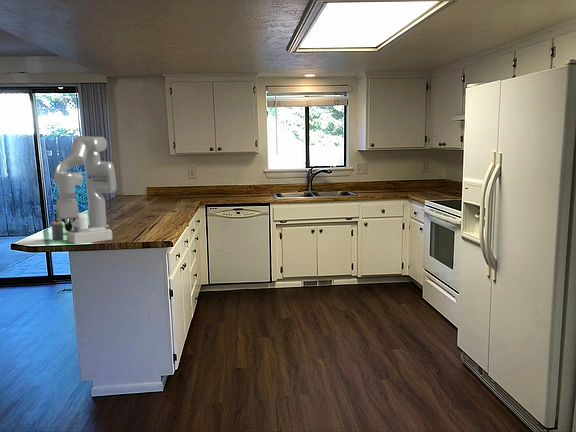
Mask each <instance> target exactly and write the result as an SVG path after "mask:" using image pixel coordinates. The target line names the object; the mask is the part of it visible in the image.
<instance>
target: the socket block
mask: <svg viewBox="0 0 576 432" xmlns="http://www.w3.org/2000/svg"><path fill="white" fill-rule="evenodd" d="M80 230H82V229H80ZM87 230H90V231H84V232H73V229H71V231H66V241H67V242H70V243H71V244H74V245H79V244H87V243H94V242H101V241H110V240H111V241H112V240H113V229H112V230H111V228H104V227H96V228H87Z"/></svg>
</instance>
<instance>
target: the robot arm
mask: <svg viewBox="0 0 576 432" xmlns="http://www.w3.org/2000/svg"><path fill="white" fill-rule="evenodd" d="M107 145H108V143H107V139H106V138H105V137H104V136H91V135H89V136H87V135H86V136H85V135H84V136H81V135H80V136H77V137H76V138H74V139H73V142H72V144H71V148H70V151H69V155H68V156H67V157H66V158H64V159H63V160H61V161H60V162H59V163H58V164H57V166H56V168H55V171H54V175H53V182H54V184H55V185H56V186H58V199H57V200H56V211H55V213H56V215H55V216H56V218H57V220H58V221H60V222H62V223H64V229H65V231H66V232H68V231H71V230H73V222H74V221H75V220H77V219H79V213H80V212H79V206H78V205H79V204H78V201H77V198H76V197H78V196H79V195H78V193H75V192H76V191H75V187H78V186H81V185H82V184H84V183H83V182H84V176H83V174H82V173H80V172H78V171H70V169H73V168H76V167H77V168H78V167H79V166H82V165H83V164H85V165H86V171H87V175H89V177H92V178H88V179H87V181H86V188H87V194H88V203H89V204H88V206H89V224H88V228H96V227H104V228H106V229H108V228H110V225H109V224H107V210H106V208H107V207H106V199H105V197H104V195H103V194H113V193H116V191H117V179H116V171H115V169H116V168H115V165H114V164H113V163H112V162H111V161H103V160H101V155H100V152H101V153H102V152H104V151H106V149H107V147H108V146H107ZM69 171H70V172H69Z"/></svg>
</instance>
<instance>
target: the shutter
mask: <svg viewBox="0 0 576 432" xmlns="http://www.w3.org/2000/svg"><path fill="white" fill-rule="evenodd" d="M72 230H73V229H72ZM84 231H90V230H87V229H82V230H80V227H79V226H74V230H73V232H84Z"/></svg>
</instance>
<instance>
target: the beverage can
mask: <svg viewBox="0 0 576 432" xmlns="http://www.w3.org/2000/svg"><path fill="white" fill-rule="evenodd" d="M88 218H89V217H88V214H87V213H85V212H82V213H81V212H79V219H77V220H75V221H74V222H73V223H72V230H74V226H79V227H80V229H87V228H88V226H89V219H88Z"/></svg>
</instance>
